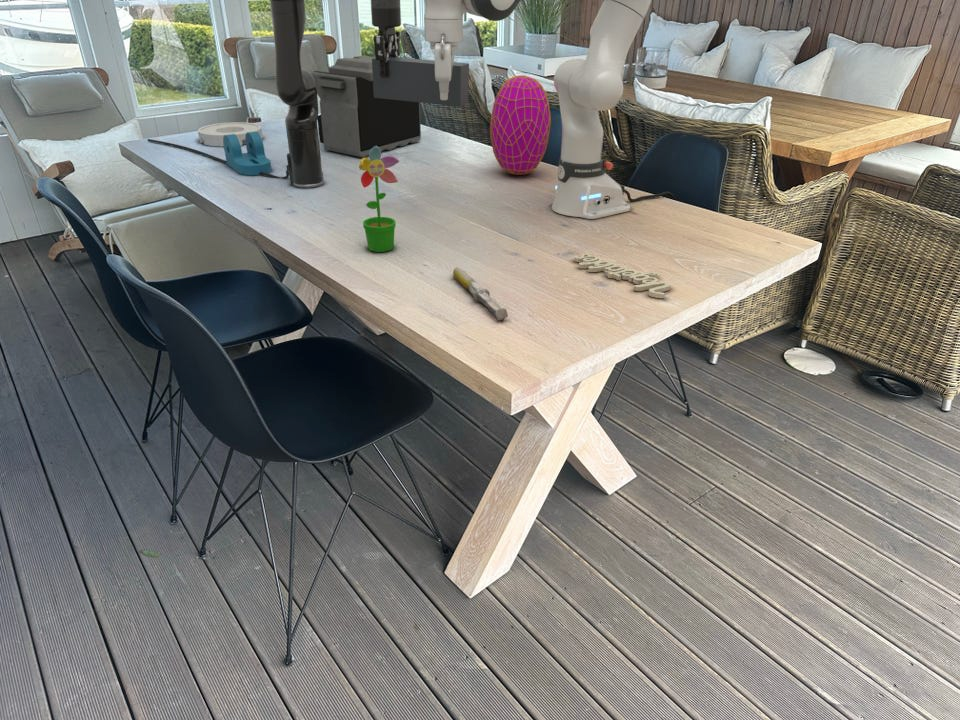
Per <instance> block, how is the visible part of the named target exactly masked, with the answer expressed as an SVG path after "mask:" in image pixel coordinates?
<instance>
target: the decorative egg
mask: <svg viewBox="0 0 960 720" xmlns="http://www.w3.org/2000/svg"><path fill="white" fill-rule="evenodd" d="M547 95H548V94H547V92H546V91H545V89H544V87H543V85H542V84H541V83H540V82H539V81H538V80H537V79H536V78H533V77H531V76H528V75H516V76H512V77H509V78H508V79H507V80H506V81H504V82H503V84H502V86H501V87H500V89H499V90H498V92H497V94H496V96H495V98H494V101H493V104H492V109H491V116H490V122H489V123H490V124H489V134H490V135H489V136H490V143H491V147H492V148H491V149H492V152H493V156H494V158H495V160H496V161H497V163H498V164H499V166H500V168H501V169H502V170H504V171H505V172H507V173H508V174H511V175H515V176H523V175H527V174H529V173H532V172H533V171H535V170H536V169H537V167H539V165H540V163H541V161H542V160H543V158H544V157H545V156H544V155H545V153H546V151H547V147H548V143H549V138H550V132H551V131H550V130H551V125H552V118H551V115H552V114H551V108H550V102H549V98H548V96H547Z"/></svg>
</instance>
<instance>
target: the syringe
mask: <svg viewBox="0 0 960 720" xmlns="http://www.w3.org/2000/svg"><path fill="white" fill-rule="evenodd" d="M452 274H453V277H454V279H455V280H457V281H458V282H459V283H460V285H462V287H464V289H466V290H467V291H468V293H470V295H471V296H472V298H473V300H474V302H477V303H478V302H480V303H482V304H483V305H484V306H485V307H486V308H487V309H488V310H489V311H490V312H491V313H492V314H493V315H494V316H495V317H496V320H497V321H503V320H504V319H506V318H507V317H509V314H508V310H507V308H506V307H502V306H501V305H500V303H498V302H497V301H496V300H494V299H493V298H492V297H491V296H490V295H491V293H490V290H488V289H486V288H483V287H482V286H481V285H480V284H479V283H478V282H477V281H476V280H474V278H473V277H471V275H469V274H468V273H467V272H466V270H465V269H464V268H463V267H462V266H456V267H454V268H453V271H452Z"/></svg>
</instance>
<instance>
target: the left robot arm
mask: <svg viewBox="0 0 960 720" xmlns="http://www.w3.org/2000/svg"><path fill="white" fill-rule="evenodd" d="M269 7H270V16H271V21H272V30H273V31H272V32H273V42H274V50H275V51H274V52H275V89H276V92H277V95H278V97H279V99H280V100H281V101H282V102H283V103H284V104H285V105H287V106H288V107H289V108H288V111H287V114H286V116H285V119H284V123H285V131H286V138H287V146H288V153H287V154H286V161H287V165H286V166H285V167H286V171H285V176H277V175H274V174H271V173H263V172H260V173H259V174H260V175H261V176H265V177H269V178H273V179H282V180H288V178H289V184H290V186H294V187H296V188H300V189H301V188H303V189H310V188H317V187H320V186H322V185H324V184H325V182H324V171H323V167H322V157H321V147H320V139H319V130H318V120H317V119H318V116H319V99H318V98H319V96H318V94H317V87H316V83H315V80H314V78H313V76H312V75H311V72H310V71H308V70H307V69H305V68H302V62H301V48H302V44H303V39H304V35H305V34H304V33H305V28H306V20H307V19H306V18H307V16H306V3H305V0H269ZM401 9H402V8H401V0H370V12H371V13H370V14H371V25H372V26H373V27H376V28H378V29H377V30H378V32H377V35H376V34H374V35H373V48H374V57H375V58H376V60H378V62H379V63H380V77H381V78H388V77H389V69H388V59H389V57H398V58H399V56H400V53H401V32H400V31H398V30H396V28H399V27H400V26H402V14H401V13H402V12H401ZM147 142H150V143H155V144H162V145H167V146H170V147H171V146H172V147H176V148H180V149H182V150H183V149H184V150H187V151H191V152H194V153H196V154H199V155H203V156H206V157H208V158H211V159H213V160H215V161H218V162H221V163H223V164H226V165H227V162H226V159H222V158H219V157H218V156H215V155H212V154H208V153H205V152H204V151H200V150H198V149H194V148H191V147H188V146H184V145H180V144H177V143H176V144H175V143H171V142H167V141H162V140H157V139H152V138H151V139H150V138H147ZM260 175H259V176H260Z"/></svg>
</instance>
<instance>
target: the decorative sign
mask: <svg viewBox="0 0 960 720" xmlns="http://www.w3.org/2000/svg"><path fill="white" fill-rule="evenodd" d="M574 262H575V263H578V269H588V270H587V272H588V273H598V272H603V273H604V276H606V277H607V278H608V279H614V280H617V281H621V279H622V280H627V281H628V282H630V283H633V284H634V285H633V291H636V292H643V291H647V290H648V293H647V294H648V296H649V297H652V298H656V299H664V298H665V295H666V292H668V291H669V290H670V289H671V283H670V282H668V281H659V279H658V272H657V271H648V272H639V271H637V270H634V269H630V268H628V267H627V266H626V267H625V266H624V265H619V264H618V263H615V262H611V261H610V260H604V258H601V257H598V256H596V255H592V254H590V253H587V252H586V253H582V254H581V255H580V256H578V255H575V256H574Z"/></svg>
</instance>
